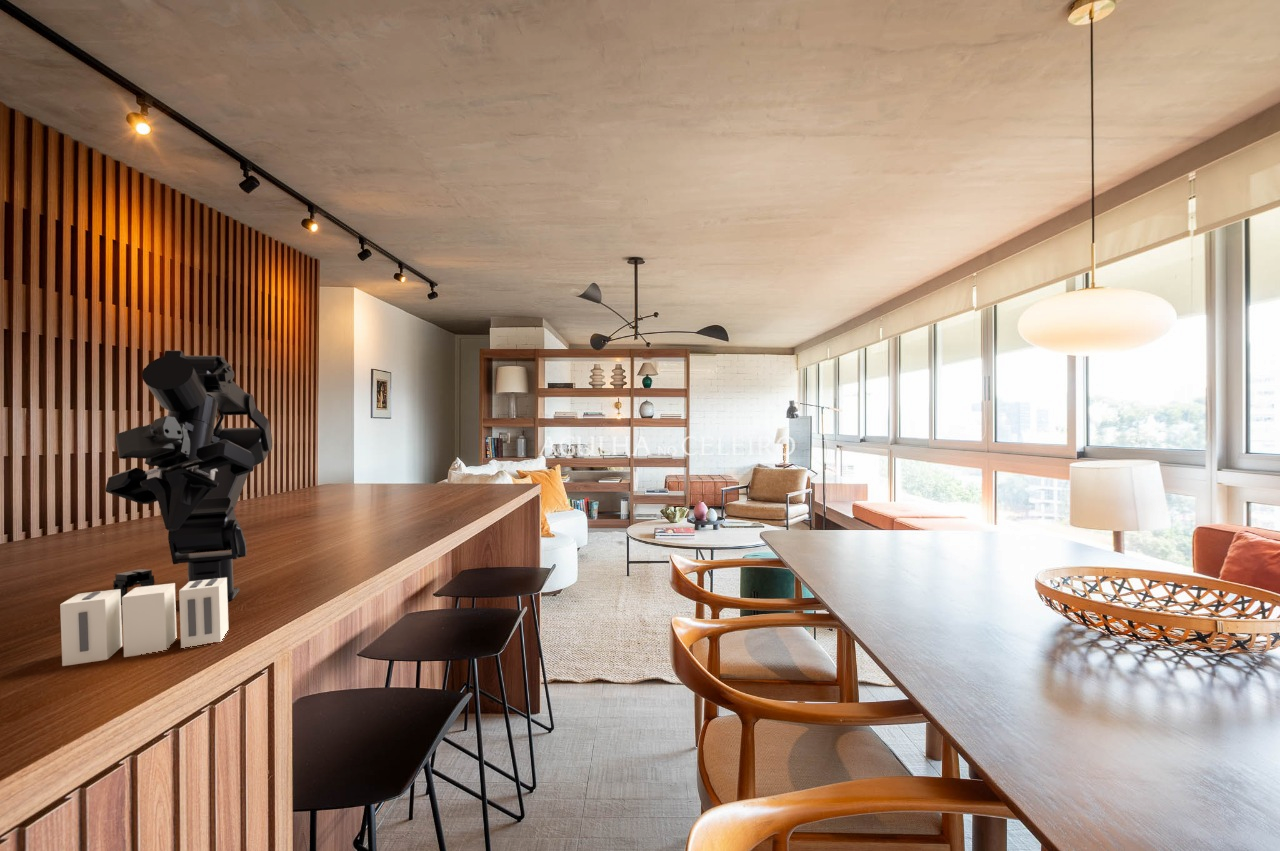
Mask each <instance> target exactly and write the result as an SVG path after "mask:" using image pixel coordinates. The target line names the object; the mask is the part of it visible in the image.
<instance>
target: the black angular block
mask: <svg viewBox="0 0 1280 851" xmlns="http://www.w3.org/2000/svg"><path fill="white" fill-rule="evenodd" d="M137 585H140V587H144V586H153V585H155V575H153V570H152V569H144V568H143V569H142V568H138V569H134V570H130V571H129V570H128V571H124V572H120V573H115V579H114V580H113V585H112V588H113V590H116V589H121V604H122V597H123V596H124V595H126V594H127V593H129V592H130V591H128V588H131V587H133V588H134V586H137Z"/></svg>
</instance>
